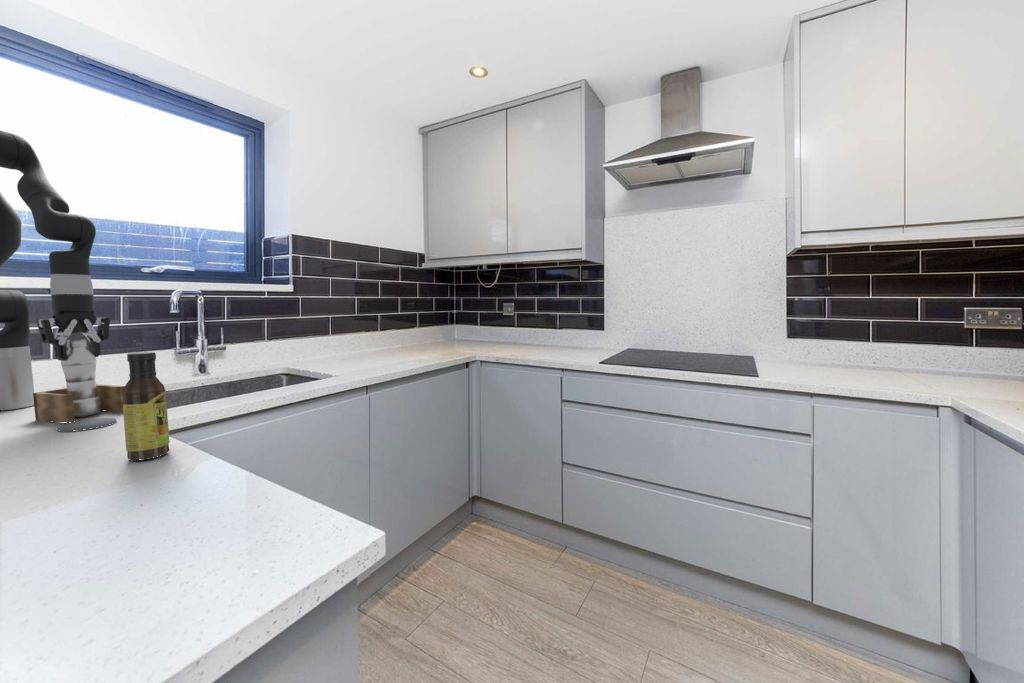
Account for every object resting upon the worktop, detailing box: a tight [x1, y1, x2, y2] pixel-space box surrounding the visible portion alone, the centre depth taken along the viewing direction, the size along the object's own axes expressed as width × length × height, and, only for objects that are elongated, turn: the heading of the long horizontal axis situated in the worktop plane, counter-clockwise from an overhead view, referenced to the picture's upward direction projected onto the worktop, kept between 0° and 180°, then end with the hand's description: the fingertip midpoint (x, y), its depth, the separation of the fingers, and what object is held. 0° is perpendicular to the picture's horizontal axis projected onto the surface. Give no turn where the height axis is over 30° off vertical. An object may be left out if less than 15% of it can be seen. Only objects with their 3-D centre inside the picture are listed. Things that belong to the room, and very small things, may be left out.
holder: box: [33, 383, 125, 423], centre depth 111 cm, size 12×12×7 cm
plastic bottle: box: [60, 338, 101, 418], centre depth 110 cm, size 6×7×20 cm
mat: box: [57, 417, 117, 432], centre depth 102 cm, size 10×10×1 cm
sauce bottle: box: [123, 351, 170, 461], centre depth 80 cm, size 6×6×20 cm
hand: (78, 358), depth 110 cm, fingers closed on plastic bottle, 6 cm apart
